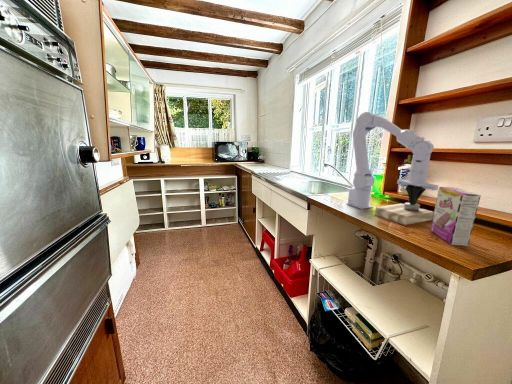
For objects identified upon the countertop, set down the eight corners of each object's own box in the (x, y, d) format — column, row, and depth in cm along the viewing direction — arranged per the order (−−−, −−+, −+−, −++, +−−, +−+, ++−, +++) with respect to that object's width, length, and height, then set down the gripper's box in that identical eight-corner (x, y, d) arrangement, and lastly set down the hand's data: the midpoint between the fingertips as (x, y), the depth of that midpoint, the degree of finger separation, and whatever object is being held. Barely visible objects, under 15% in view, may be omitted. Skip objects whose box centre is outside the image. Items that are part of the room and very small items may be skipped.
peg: (399, 215, 91) (401, 202, 90) (408, 214, 93) (410, 201, 91) (411, 219, 86) (414, 206, 85) (420, 218, 88) (423, 205, 87)
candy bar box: (428, 231, 76) (438, 186, 72) (444, 232, 75) (455, 187, 71) (449, 245, 65) (462, 193, 61) (469, 247, 64) (482, 194, 60)
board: (374, 214, 93) (375, 207, 92) (400, 210, 99) (401, 203, 98) (405, 225, 81) (406, 216, 80) (431, 219, 87) (433, 211, 87)
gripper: (394, 169, 90) (389, 200, 93) (433, 174, 77) (425, 209, 80) (405, 169, 93) (400, 199, 96) (444, 173, 80) (436, 207, 83)
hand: (412, 203), depth 88 cm, fingers closed
